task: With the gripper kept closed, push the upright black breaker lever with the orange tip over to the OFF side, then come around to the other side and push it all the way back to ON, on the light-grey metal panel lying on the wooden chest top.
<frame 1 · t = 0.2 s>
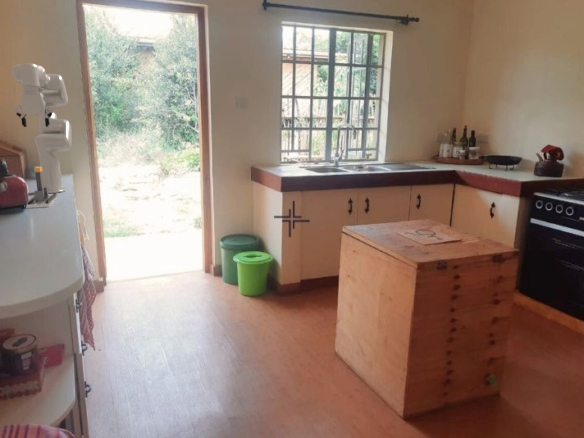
hand: (36, 126, 221), 36 cm above the table, fingers open, 9 cm apart
lever: (39, 181, 218), point 11 cm above the table, hinge at 0.0°
panel: (42, 202, 220), on the table
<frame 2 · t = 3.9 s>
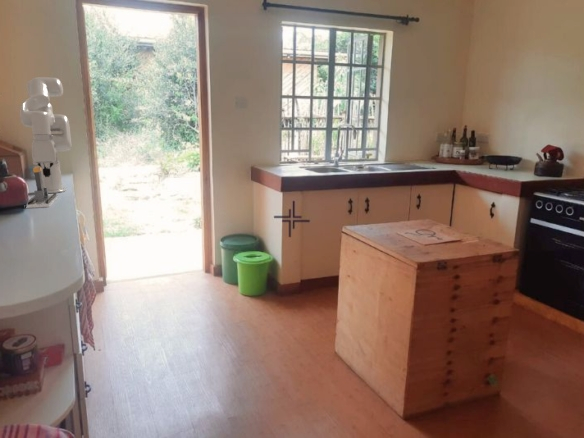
hand: (47, 176, 218), 13 cm above the table, fingers closed
lever: (39, 181, 218), point 11 cm above the table, hinge at 2.2°, touching gripper
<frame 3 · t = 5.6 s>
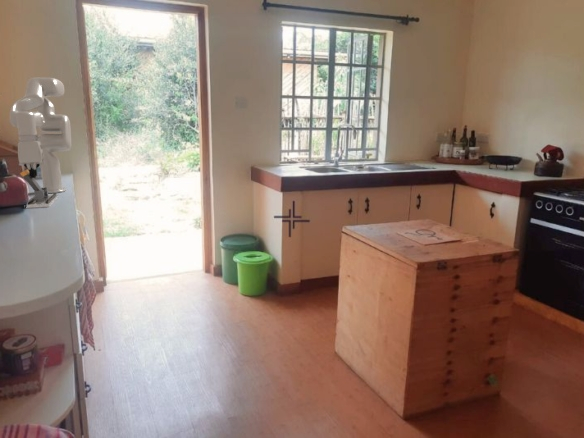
hand: (33, 177, 217), 12 cm above the table, fingers closed
lever: (33, 183, 217), point 10 cm above the table, hinge at 29.6°, touching gripper
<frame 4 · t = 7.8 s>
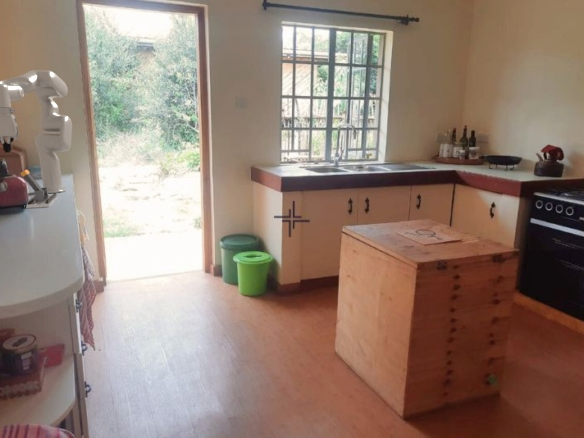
hand: (7, 152, 211), 25 cm above the table, fingers closed
lever: (33, 183, 217), point 10 cm above the table, hinge at 29.6°
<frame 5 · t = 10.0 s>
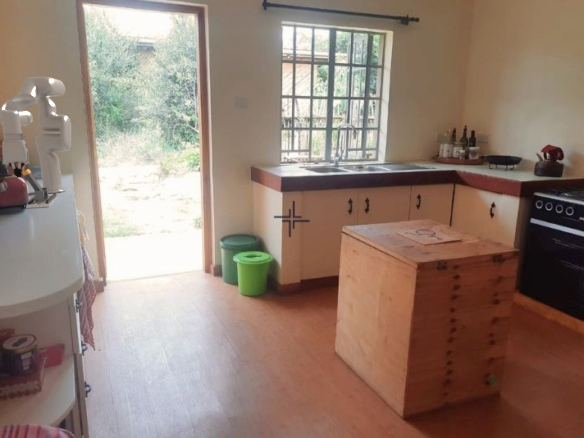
hand: (18, 176, 215), 13 cm above the table, fingers closed
lever: (33, 182, 217), point 10 cm above the table, hinge at 26.0°, touching gripper
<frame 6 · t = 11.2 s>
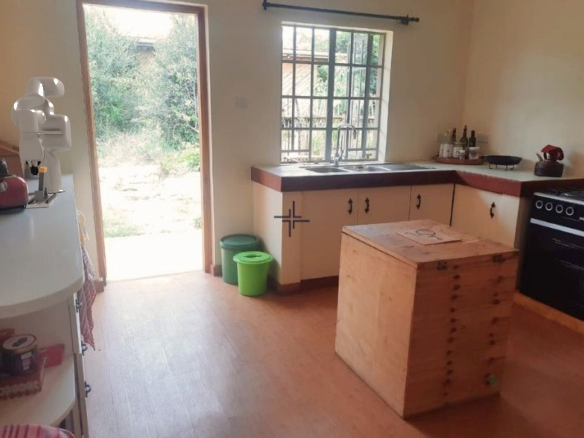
hand: (35, 175, 216), 14 cm above the table, fingers closed
lever: (42, 181, 218), point 11 cm above the table, hinge at -9.7°, touching gripper
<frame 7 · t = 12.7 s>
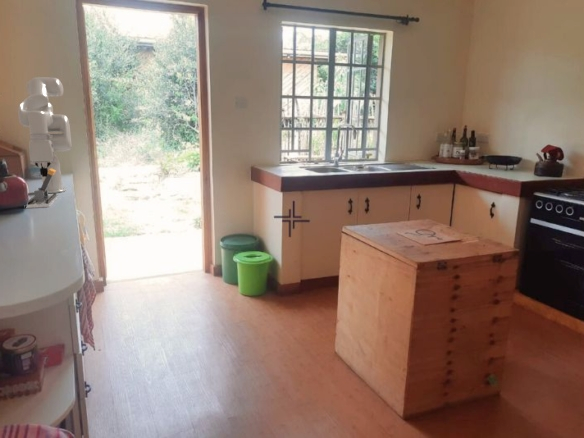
hand: (44, 176, 218), 13 cm above the table, fingers closed
lever: (46, 182, 219), point 10 cm above the table, hinge at -28.8°, touching gripper
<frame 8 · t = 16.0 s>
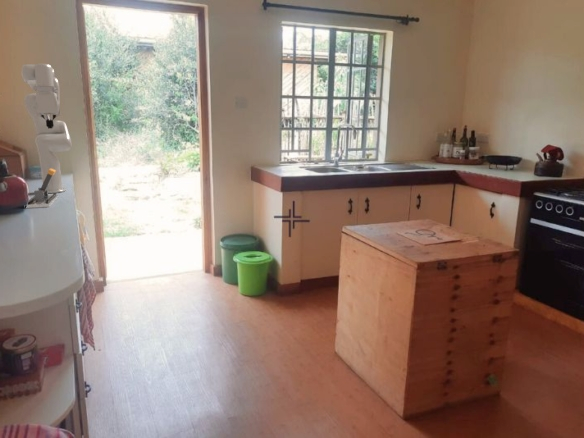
hand: (50, 128, 227), 35 cm above the table, fingers closed
lever: (46, 182, 219), point 10 cm above the table, hinge at -28.9°
at the end: lever at -29° (first picture: +0°); lever touching nothing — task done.
